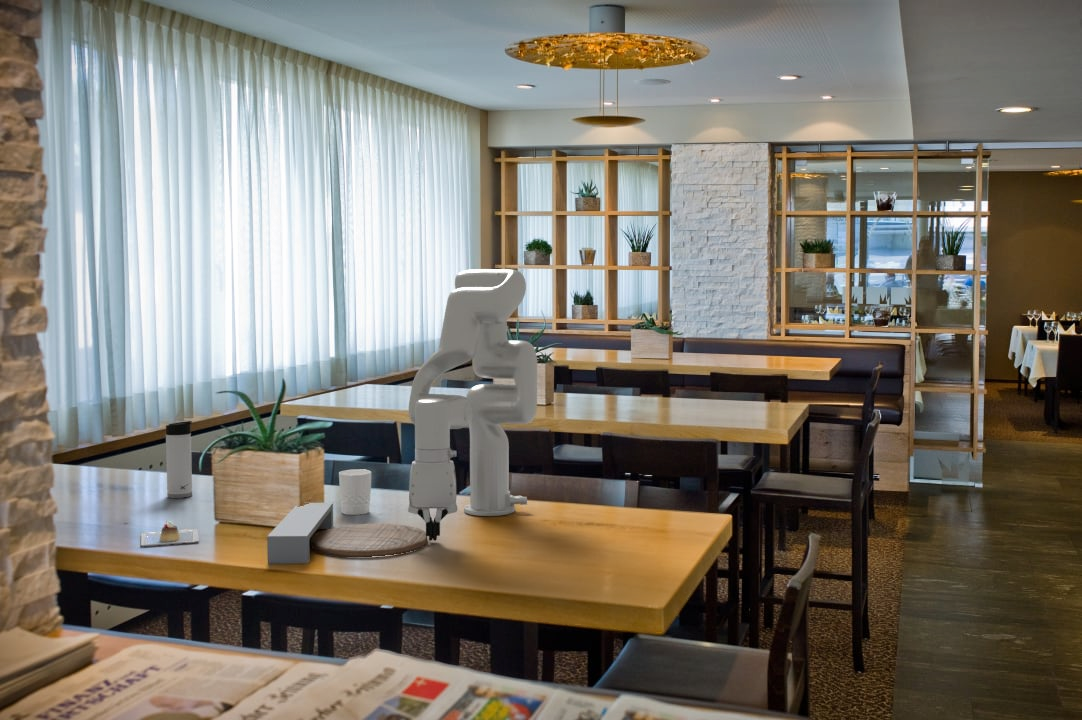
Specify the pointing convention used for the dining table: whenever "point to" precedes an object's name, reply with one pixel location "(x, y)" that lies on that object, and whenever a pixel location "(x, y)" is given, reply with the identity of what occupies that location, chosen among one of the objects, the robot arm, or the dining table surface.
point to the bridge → (298, 533)
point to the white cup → (355, 491)
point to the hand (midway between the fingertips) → (433, 539)
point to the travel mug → (179, 460)
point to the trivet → (368, 540)
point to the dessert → (169, 535)
